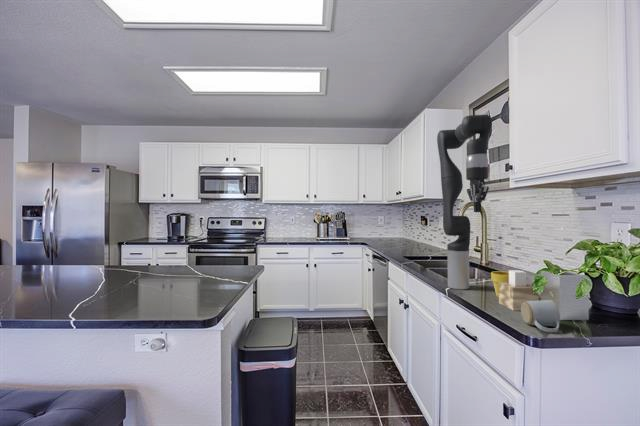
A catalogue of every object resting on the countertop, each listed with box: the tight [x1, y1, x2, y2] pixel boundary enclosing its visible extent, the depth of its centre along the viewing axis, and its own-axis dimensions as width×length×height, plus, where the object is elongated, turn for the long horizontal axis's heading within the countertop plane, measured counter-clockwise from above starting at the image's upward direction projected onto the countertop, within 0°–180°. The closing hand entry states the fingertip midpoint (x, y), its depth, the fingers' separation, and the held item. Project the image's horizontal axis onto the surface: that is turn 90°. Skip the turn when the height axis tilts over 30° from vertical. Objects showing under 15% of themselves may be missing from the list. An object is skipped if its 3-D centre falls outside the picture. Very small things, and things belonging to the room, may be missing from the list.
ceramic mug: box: [520, 299, 561, 334], centre depth 95 cm, size 11×8×8 cm
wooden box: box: [498, 282, 540, 311], centre depth 115 cm, size 9×9×8 cm
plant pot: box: [490, 270, 509, 298], centre depth 128 cm, size 10×10×10 cm
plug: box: [508, 269, 528, 287], centre depth 115 cm, size 4×5×9 cm
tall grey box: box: [539, 270, 590, 321], centre depth 105 cm, size 9×9×14 cm
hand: (477, 212), depth 120 cm, fingers closed
